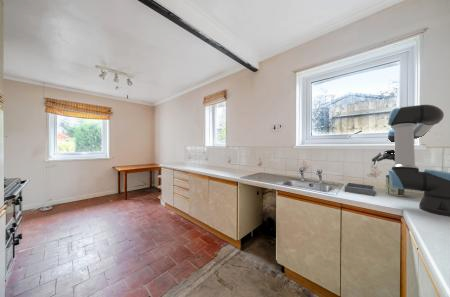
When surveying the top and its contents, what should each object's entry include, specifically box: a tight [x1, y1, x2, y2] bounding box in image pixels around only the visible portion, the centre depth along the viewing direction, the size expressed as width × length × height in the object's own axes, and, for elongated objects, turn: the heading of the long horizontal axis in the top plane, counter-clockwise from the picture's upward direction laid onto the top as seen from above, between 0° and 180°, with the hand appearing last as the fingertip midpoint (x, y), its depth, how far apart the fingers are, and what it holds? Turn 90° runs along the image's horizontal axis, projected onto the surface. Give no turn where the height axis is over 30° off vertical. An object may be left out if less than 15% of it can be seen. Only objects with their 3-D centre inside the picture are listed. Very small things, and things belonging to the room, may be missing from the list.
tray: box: [344, 182, 376, 196], centre depth 137 cm, size 18×18×4 cm
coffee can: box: [385, 174, 405, 197], centre depth 127 cm, size 10×10×14 cm
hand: (386, 169), depth 132 cm, fingers open, 13 cm apart
